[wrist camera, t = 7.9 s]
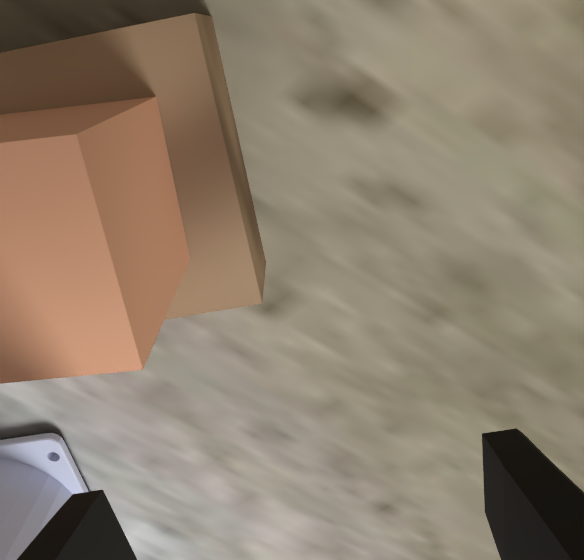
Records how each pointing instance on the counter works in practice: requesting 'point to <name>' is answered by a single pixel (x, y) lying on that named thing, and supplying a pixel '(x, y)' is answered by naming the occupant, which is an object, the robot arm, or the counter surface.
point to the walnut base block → (178, 135)
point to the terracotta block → (85, 239)
